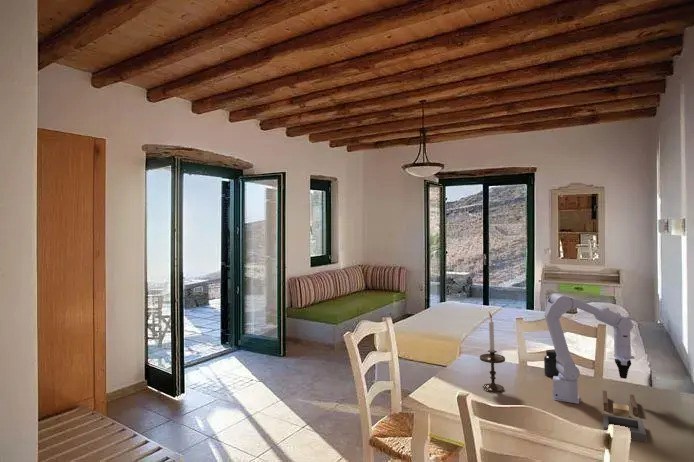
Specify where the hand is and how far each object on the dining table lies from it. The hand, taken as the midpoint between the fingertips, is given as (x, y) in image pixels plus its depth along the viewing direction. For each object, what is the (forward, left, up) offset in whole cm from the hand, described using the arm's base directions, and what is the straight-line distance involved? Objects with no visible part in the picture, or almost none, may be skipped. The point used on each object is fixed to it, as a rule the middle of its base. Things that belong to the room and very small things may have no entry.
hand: (623, 377), depth 172 cm
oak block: (-2, -18, -10) cm, 20 cm away
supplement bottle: (-28, +20, -10) cm, 36 cm away
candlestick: (-50, -10, -10) cm, 52 cm away
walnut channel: (-2, -7, -9) cm, 12 cm away
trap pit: (-2, -30, -9) cm, 32 cm away
